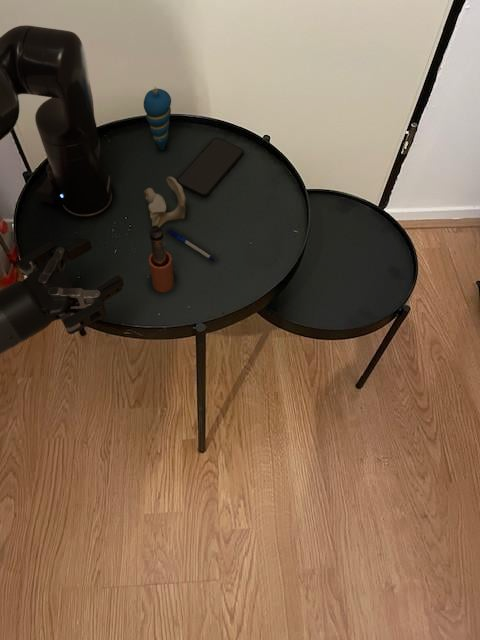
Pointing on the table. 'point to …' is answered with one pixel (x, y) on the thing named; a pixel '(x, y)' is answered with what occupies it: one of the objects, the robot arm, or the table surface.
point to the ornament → (158, 114)
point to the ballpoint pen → (190, 244)
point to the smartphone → (210, 167)
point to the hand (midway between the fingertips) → (105, 261)
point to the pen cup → (162, 274)
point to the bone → (159, 205)
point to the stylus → (158, 247)
